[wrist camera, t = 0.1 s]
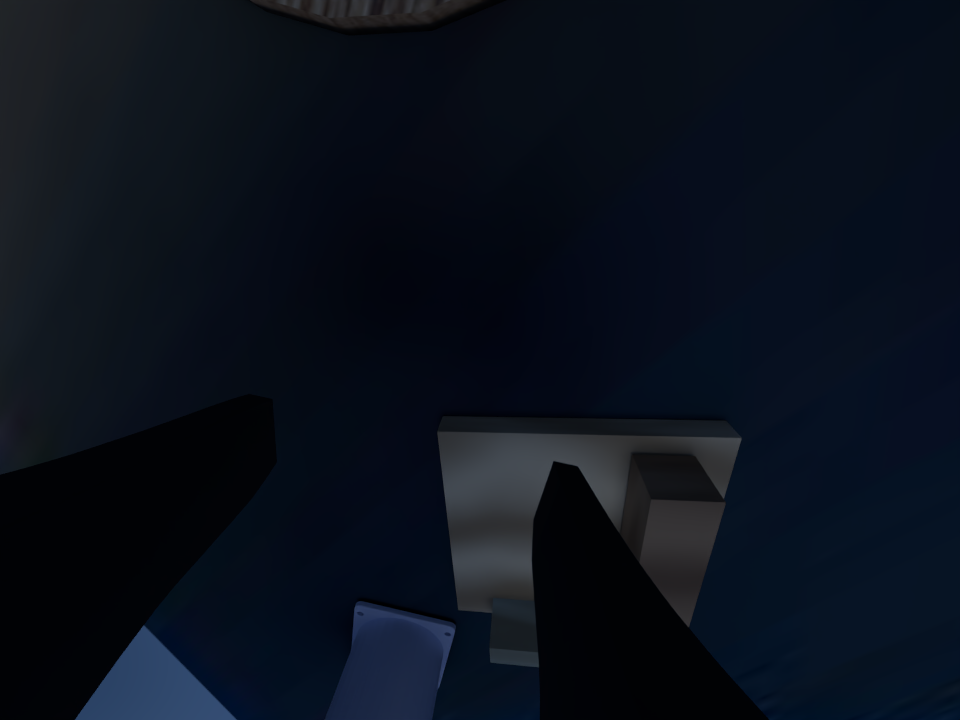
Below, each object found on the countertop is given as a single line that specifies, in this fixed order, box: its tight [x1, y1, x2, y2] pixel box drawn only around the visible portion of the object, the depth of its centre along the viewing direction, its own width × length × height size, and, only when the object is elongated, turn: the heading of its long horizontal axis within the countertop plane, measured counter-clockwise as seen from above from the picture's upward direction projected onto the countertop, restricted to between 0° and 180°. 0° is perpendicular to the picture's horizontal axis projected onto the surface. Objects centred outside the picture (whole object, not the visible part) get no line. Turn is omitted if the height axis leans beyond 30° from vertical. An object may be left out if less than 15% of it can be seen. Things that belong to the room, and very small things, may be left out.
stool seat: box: [437, 416, 741, 667], centre depth 21 cm, size 15×15×4 cm
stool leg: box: [620, 455, 726, 627], centre depth 19 cm, size 12×3×4 cm, turn 3°
